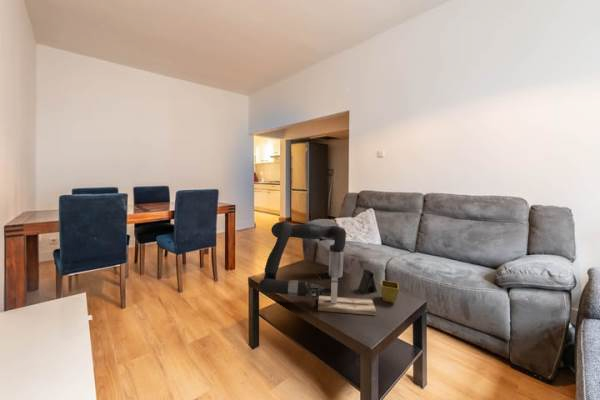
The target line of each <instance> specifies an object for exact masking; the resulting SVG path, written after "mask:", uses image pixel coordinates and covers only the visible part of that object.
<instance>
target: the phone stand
mask: <svg viewBox="0 0 600 400" xmlns="http://www.w3.org/2000/svg"><path fill="white" fill-rule="evenodd" d="M362 272H363V274H362V277H361V280H360V282H359V285H358V288H357V290H359V292H360V293H362V294H365V295H366V294H367V295H368V294H373V293H377V292H378V290H377V287H376V282H375V278H374V273H373V272H372V271H370V270H368V269H367V268H366V269H364V270H363V271H362Z"/></svg>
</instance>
